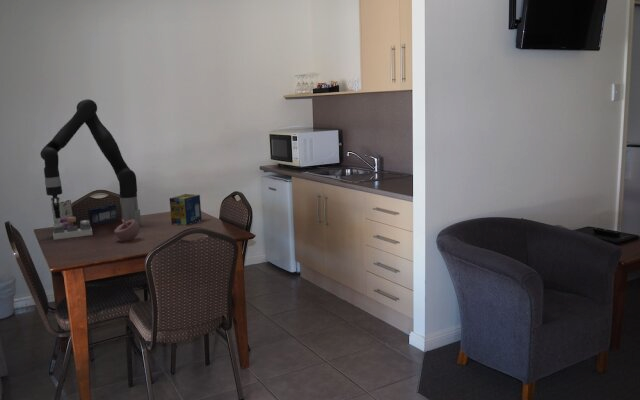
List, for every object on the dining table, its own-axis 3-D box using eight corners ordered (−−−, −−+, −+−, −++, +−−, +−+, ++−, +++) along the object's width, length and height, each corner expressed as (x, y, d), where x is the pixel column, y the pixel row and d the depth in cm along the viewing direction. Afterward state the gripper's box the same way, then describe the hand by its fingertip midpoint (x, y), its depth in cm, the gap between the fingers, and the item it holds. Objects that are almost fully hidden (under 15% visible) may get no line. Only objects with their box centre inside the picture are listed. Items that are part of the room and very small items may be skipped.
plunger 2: (89, 227, 304) (88, 219, 303) (90, 228, 300) (89, 220, 299) (81, 228, 302) (80, 220, 302) (81, 229, 298) (80, 221, 298)
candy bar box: (67, 227, 325) (63, 199, 322) (74, 227, 324) (71, 199, 321) (54, 231, 314) (50, 202, 311) (62, 231, 313) (58, 202, 310)
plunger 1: (63, 230, 299) (62, 222, 298) (63, 232, 295) (62, 223, 294) (54, 231, 297) (53, 223, 296) (54, 233, 293) (53, 224, 292)
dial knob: (76, 224, 301) (75, 215, 300) (76, 225, 297) (75, 217, 296) (67, 225, 299) (66, 216, 298) (67, 226, 295) (66, 218, 295)
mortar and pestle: (112, 240, 283) (109, 218, 282) (135, 236, 291) (133, 215, 289) (119, 244, 274) (117, 222, 272) (143, 240, 281) (141, 218, 279)
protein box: (171, 225, 318) (168, 198, 315) (187, 219, 332) (185, 193, 329) (186, 225, 314) (184, 198, 311) (202, 220, 328) (200, 194, 325)
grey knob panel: (91, 232, 306) (90, 223, 305) (92, 234, 300) (91, 225, 299) (53, 237, 298) (52, 228, 298) (53, 239, 292) (52, 230, 291)
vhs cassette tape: (92, 226, 323) (90, 209, 322) (89, 226, 325) (87, 209, 323) (118, 220, 338) (116, 204, 337) (115, 220, 340) (113, 204, 338)
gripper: (61, 186, 287) (65, 219, 290) (61, 183, 299) (65, 215, 302) (45, 187, 284) (50, 221, 287) (45, 185, 296) (50, 217, 299)
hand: (57, 217), depth 295 cm, fingers closed
